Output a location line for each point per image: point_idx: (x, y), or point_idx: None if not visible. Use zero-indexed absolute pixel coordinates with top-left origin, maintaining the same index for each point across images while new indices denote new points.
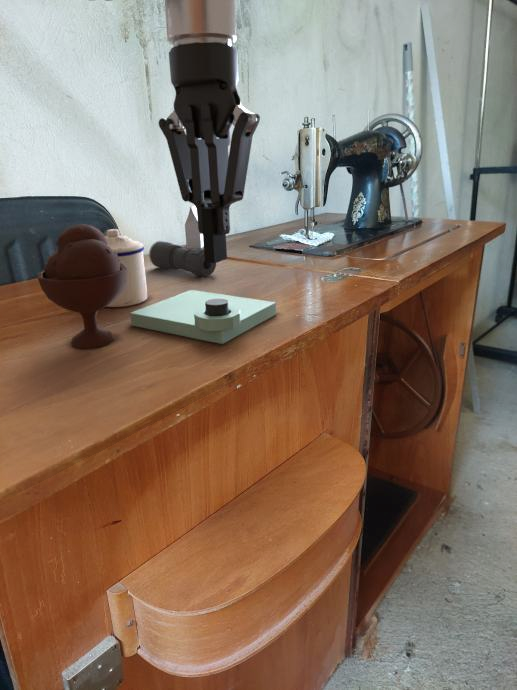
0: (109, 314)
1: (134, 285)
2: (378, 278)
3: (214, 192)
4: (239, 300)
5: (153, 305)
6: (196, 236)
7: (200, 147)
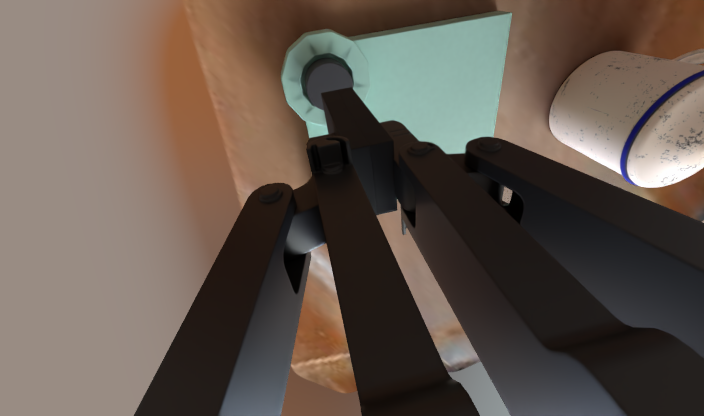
0: (571, 30)
1: (577, 110)
2: (317, 361)
3: (341, 190)
4: None
5: (495, 77)
6: None
7: (536, 365)
